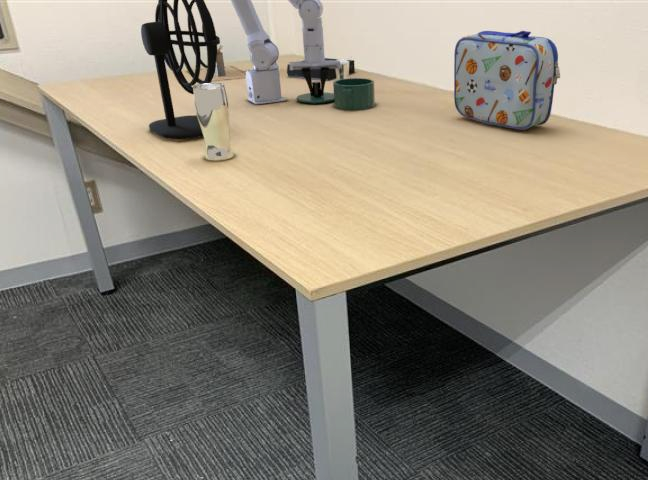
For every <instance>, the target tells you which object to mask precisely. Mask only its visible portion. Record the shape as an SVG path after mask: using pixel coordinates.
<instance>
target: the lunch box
mask: <svg viewBox="0 0 648 480" xmlns="http://www.w3.org/2000/svg"><path fill="white" fill-rule="evenodd" d="M531 33H532V32H531V31H528V30H520V31H517V32H503V31H494V30H483V31H479V32H477V33H475V34H469V35H466V36H462V37H461V38H460V39H458V40H457V42H456V44H455V47H454V54H453V55H454V57H453V59H454V61H453V63H454V66H453V77H454V78H453V80H454V81H453V82H454V83H453V98H454V106H455V109H456V111H457V112H458V113H459V115H461V116H462V117H464V118H466V119H468V120H473V121H476V122H479V123H483V124H487V125H492V126H496V127H501V128H507V129H514V130H528V129H530V128H531V127H532V128H533V127H536V126H541V125H545V124H547V122H548V120H549V119H550V117H551V113H552V108H553V107H552V106H553V102H554V101H553V100H554V91H555V86H556V85H557V84H558V79H561V69H560V66H559V53H558V48H557V46H556V43H554V42H553V41H552V40H551V39H549V37H548V38H547V37H544V36H543V37H542V36H533V35H532V36H530V35H531Z"/></svg>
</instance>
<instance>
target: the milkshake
mask: <svg viewBox="0 0 648 480" xmlns="http://www.w3.org/2000/svg"><path fill="white" fill-rule="evenodd" d="M337 59H338V60H340V67H341V68H340V69H337V68H335V71H336V78H335V79H336V81H337V80H340V79H348V78H350V74H349V61H348V60H351V59H352V55H351V56H350V59H344V58H341V59H340V58H337ZM338 60H336V61H338Z"/></svg>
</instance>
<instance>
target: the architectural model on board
mask: <svg viewBox="0 0 648 480" xmlns="http://www.w3.org/2000/svg"><path fill="white" fill-rule="evenodd" d="M223 47H224V46H223V45H222V44H219V45H218V47H217V58H216V68H215V73H214V76H213V79H212V81H211V82H216V81H226V80H235V79H246V73H244V72H242V71H240V70H238V69H236V68H234V67H232V66H225V62H224V61H225V60H224V54H223V52H222V51H221V50H222V49H223ZM192 70H193V72H194V73H195V69H192ZM206 73H207V68H202V69H200V74H199V79H200V80H202V81H204V80H205V77H206Z"/></svg>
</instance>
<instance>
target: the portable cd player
mask: <svg viewBox="0 0 648 480" xmlns="http://www.w3.org/2000/svg"><path fill="white" fill-rule="evenodd" d="M338 59H339V58H329V57H325V60H333V61H336V60H338ZM347 60H348V61H349V75H352V74H355V73H356V68H355V60H354V59H353V60H350V59H347ZM303 61H305V59H304V60H303ZM286 65H287V66H286V74H287V76H288V77H289V78H296V79H305V78H304V76H303V74H302V69H301V70H290V67H289V63H288V64H286ZM309 67H310V66H309ZM317 67H322V66H317ZM311 79H312V80H315V81H321V76H320V69H311ZM334 79H337V78H336V71H335V68H330V69H329V73H328V76H327V79H326V82H328V81H332V80H334Z"/></svg>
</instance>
